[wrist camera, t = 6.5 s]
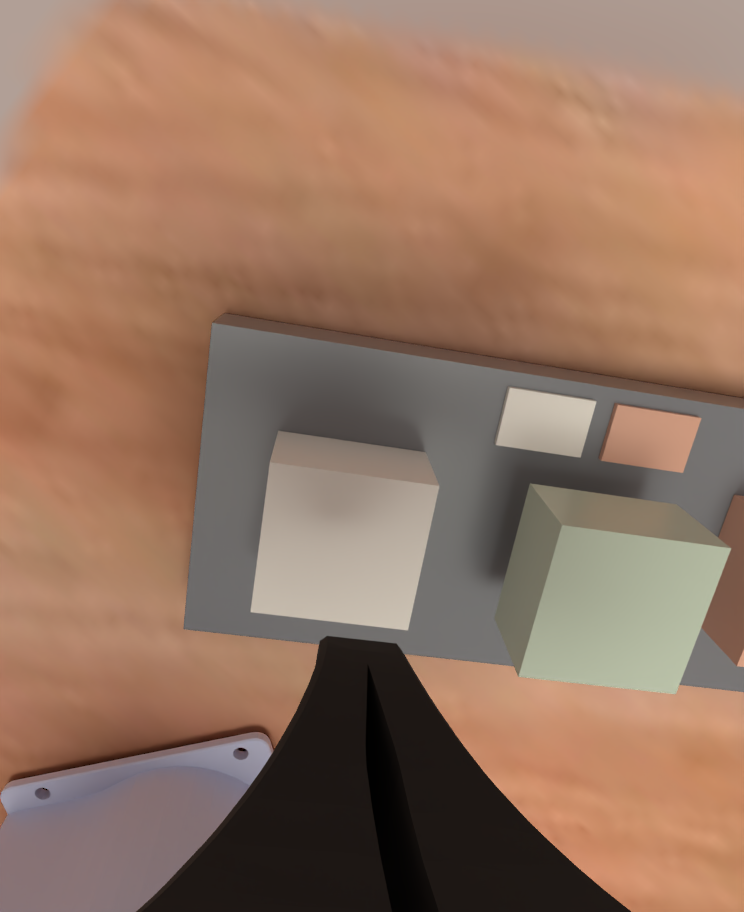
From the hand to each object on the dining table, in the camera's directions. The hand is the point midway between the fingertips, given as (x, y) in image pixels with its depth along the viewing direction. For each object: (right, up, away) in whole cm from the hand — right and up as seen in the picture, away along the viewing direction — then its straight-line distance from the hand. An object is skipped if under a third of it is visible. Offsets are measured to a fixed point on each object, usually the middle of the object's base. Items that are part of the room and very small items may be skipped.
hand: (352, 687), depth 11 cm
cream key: (-1, +3, +7) cm, 7 cm away
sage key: (+6, +1, +6) cm, 9 cm away
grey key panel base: (+6, +2, +9) cm, 11 cm away
